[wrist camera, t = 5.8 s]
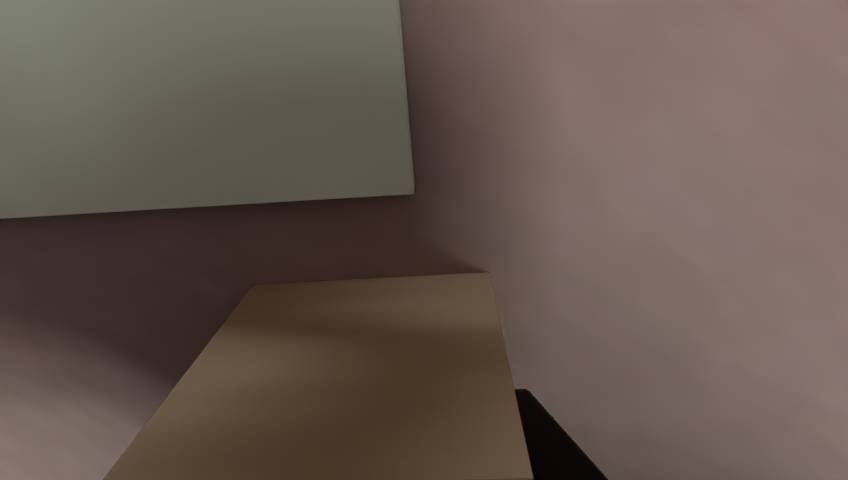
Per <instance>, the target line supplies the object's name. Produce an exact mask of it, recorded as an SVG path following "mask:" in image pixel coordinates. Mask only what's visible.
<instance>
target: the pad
mask: <svg viewBox="0 0 848 480" xmlns="http://www.w3.org/2000/svg"><path fill="white" fill-rule="evenodd" d="M414 189H415V183H414V171H413V159H412V146H411V134H410V122H409V110H408V98H407V86H406V74H405V62H404V50H403V38H402V26H401V14H400V2H399V0H0V219H4V218H21V217H37V216H54V215H71V214H88V213H104V212H121V211H138V210H155V209H171V208H188V207H205V206H222V205H238V204H255V203H272V202H288V201H305V200H322V199H339V198H355V197H372V196H389V195H406V194H414Z"/></svg>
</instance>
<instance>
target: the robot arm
mask: <svg viewBox="0 0 848 480" xmlns="http://www.w3.org/2000/svg"><path fill="white" fill-rule="evenodd" d="M514 391H515V395H516V400H517V405H518V409H519V414H520V418H521V423H522V428H523V432H524V437H525V442H526V446H527V451H528V456H529V460H530V465H531V470H532V474H533V480H608V479H607V478H606V477H605V475H604V474H603V473H602V472H601V471H600V470H599V469H598V468H597V466H596V465H595V464H594V463H593V462H592V461H591V460H590V459H589V458H588V456H587V455H586V454H585V453H584V452H583V451H582V450H581V449H580V447H579V446H578V445H577V444H576V443H575V442H574V441H573V440H572V439H571V437H570V436H569V435H568V434H567V433H566V432H565V431H564V430H563V428H562V427H561V426H560V425H559V424H558V423H557V422H556V421H555V420H554V418H553V417H552V416H551V415H550V414H549V413H548V412H547V411H546V409H545V408H544V407H543V406H542V405H541V404H540V403H539V402H538V401H537V399H536V398H535V397H534V396H533V395H532V394H531V393H530V392H529V391H528V390H526V389H514Z"/></svg>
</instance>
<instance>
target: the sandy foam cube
mask: <svg viewBox="0 0 848 480" xmlns="http://www.w3.org/2000/svg"><path fill="white" fill-rule="evenodd" d="M103 480H533V474H532V470H531V465H530V460H529V456H528V451H527V446H526V442H525V437H524V432H523V428H522V423H521V418H520V414H519V409H518V405H517V400H516V395H515V391H514V386H513V381H512V377H511V372H510V367H509V363H508V358H507V354H506V349H505V344H504V340H503V335H502V330H501V326H500V321H499V316H498V312H497V307H496V302H495V298H494V293H493V289H492V284H491V279H490V275H489V272H486V273H467V274H447V275H428V276H409V277H389V278H370V279H350V280H331V281H312V282H292V283H273V284H253V286H252V287H251V288H250V290H249V291H248V292H247V293H246V295H245V296H244V297H243V299H242V300H241V301H240V303H239V304H238V305H237V306H236V308H235V309H234V310H233V312H232V313H231V314H230V316H229V317H228V318H227V319H226V321H225V322H224V323H223V325H222V326H221V327H220V329H219V330H218V331H217V332H216V334H215V335H214V336H213V338H212V339H211V340H210V342H209V343H208V344H207V345H206V347H205V348H204V349H203V351H202V352H201V353H200V355H199V356H198V357H197V358H196V360H195V361H194V362H193V364H192V365H191V366H190V368H189V369H188V370H187V371H186V373H185V374H184V375H183V377H182V378H181V379H180V381H179V382H178V383H177V384H176V386H175V387H174V388H173V390H172V391H171V392H170V394H169V395H168V396H167V397H166V399H165V400H164V401H163V403H162V404H161V405H160V407H159V408H158V409H157V410H156V412H155V413H154V414H153V416H152V417H151V418H150V420H149V421H148V422H147V423H146V425H145V426H144V427H143V429H142V430H141V431H140V433H139V434H138V435H137V436H136V438H135V439H134V440H133V442H132V443H131V444H130V446H129V447H128V448H127V449H126V451H125V452H124V453H123V455H122V456H121V457H120V459H119V460H118V461H117V462H116V464H115V465H114V466H113V468H112V469H111V470H110V472H109V473H108V474H107V475H106V477H105V478H104V479H103Z"/></svg>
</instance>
